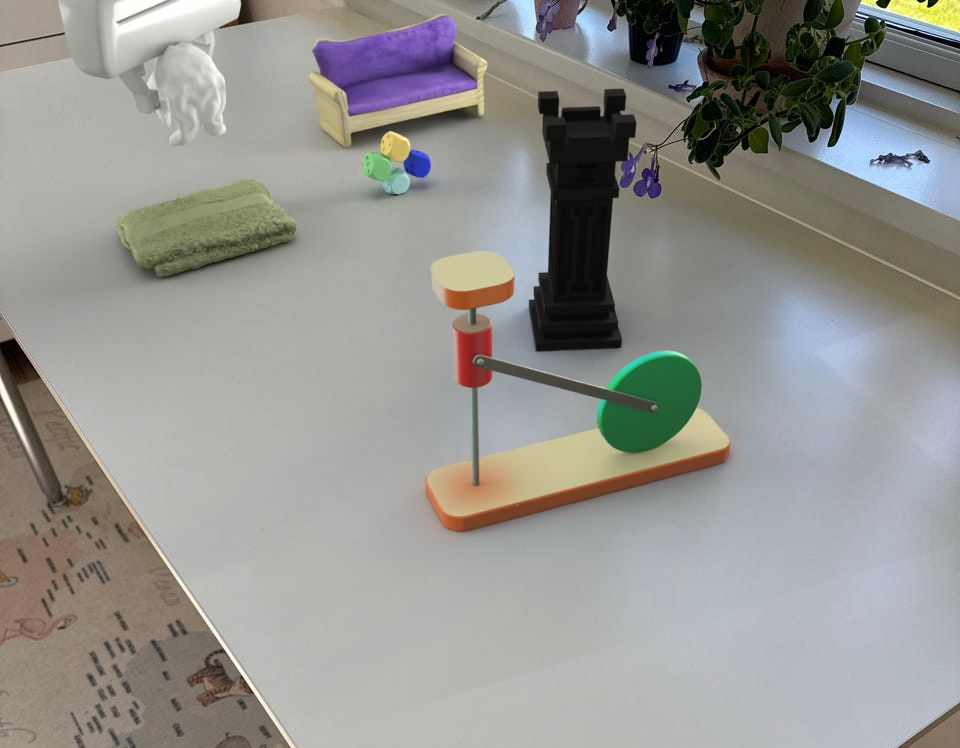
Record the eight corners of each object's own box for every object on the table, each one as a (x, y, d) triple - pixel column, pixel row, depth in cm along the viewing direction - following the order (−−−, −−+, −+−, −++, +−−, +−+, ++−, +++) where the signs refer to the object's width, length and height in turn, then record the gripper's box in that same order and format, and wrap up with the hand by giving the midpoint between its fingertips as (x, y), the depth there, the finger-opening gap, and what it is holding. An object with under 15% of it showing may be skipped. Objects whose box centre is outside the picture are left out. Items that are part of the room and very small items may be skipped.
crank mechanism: (448, 535, 79) (437, 304, 65) (421, 484, 84) (404, 257, 70) (735, 459, 85) (781, 232, 71) (695, 415, 89) (732, 193, 75)
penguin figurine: (156, 56, 94) (113, 34, 102) (181, 155, 100) (139, 128, 107) (221, 42, 96) (174, 22, 104) (241, 140, 102) (196, 114, 110)
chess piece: (535, 351, 97) (541, 127, 82) (528, 307, 102) (533, 90, 88) (621, 347, 97) (642, 123, 82) (609, 303, 102) (627, 86, 88)
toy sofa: (340, 151, 128) (330, 61, 121) (313, 127, 134) (302, 39, 126) (489, 117, 135) (488, 29, 127) (458, 95, 140) (455, 10, 133)
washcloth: (111, 234, 114) (103, 205, 112) (264, 198, 120) (259, 170, 117) (144, 286, 106) (136, 256, 104) (305, 245, 112) (301, 216, 109)
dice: (423, 177, 123) (420, 120, 118) (434, 185, 121) (431, 128, 117) (362, 193, 120) (356, 136, 115) (372, 201, 119) (367, 144, 114)
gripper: (188, -100, 99) (217, 58, 109) (31, -44, 87) (80, 127, 97) (241, -93, 97) (266, 67, 107) (87, -35, 85) (131, 139, 95)
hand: (176, 97), depth 102 cm, fingers closed on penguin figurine, 6 cm apart
